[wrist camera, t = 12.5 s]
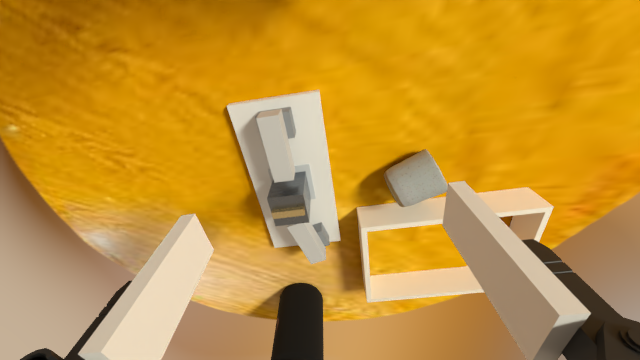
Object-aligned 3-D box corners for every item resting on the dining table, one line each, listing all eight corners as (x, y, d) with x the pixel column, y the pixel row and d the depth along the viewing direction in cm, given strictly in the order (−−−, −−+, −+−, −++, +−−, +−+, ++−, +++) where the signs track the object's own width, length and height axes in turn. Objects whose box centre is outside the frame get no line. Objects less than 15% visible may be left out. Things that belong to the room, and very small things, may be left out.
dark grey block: (281, 200, 46) (274, 229, 39) (274, 175, 43) (265, 201, 36) (310, 197, 45) (309, 225, 39) (305, 171, 43) (302, 197, 36)
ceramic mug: (377, 165, 44) (387, 190, 37) (420, 141, 42) (439, 162, 35) (402, 204, 49) (415, 232, 42) (442, 184, 46) (463, 210, 40)
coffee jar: (273, 286, 61) (258, 372, 46) (314, 277, 60) (312, 363, 44) (290, 310, 67) (281, 394, 51) (328, 302, 65) (330, 387, 49)
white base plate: (229, 103, 38) (212, 117, 32) (319, 89, 37) (318, 100, 31) (275, 242, 54) (270, 269, 48) (340, 235, 53) (342, 261, 47)
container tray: (356, 207, 49) (360, 228, 44) (527, 187, 46) (553, 206, 41) (363, 279, 60) (367, 302, 55) (501, 265, 58) (518, 288, 52)
